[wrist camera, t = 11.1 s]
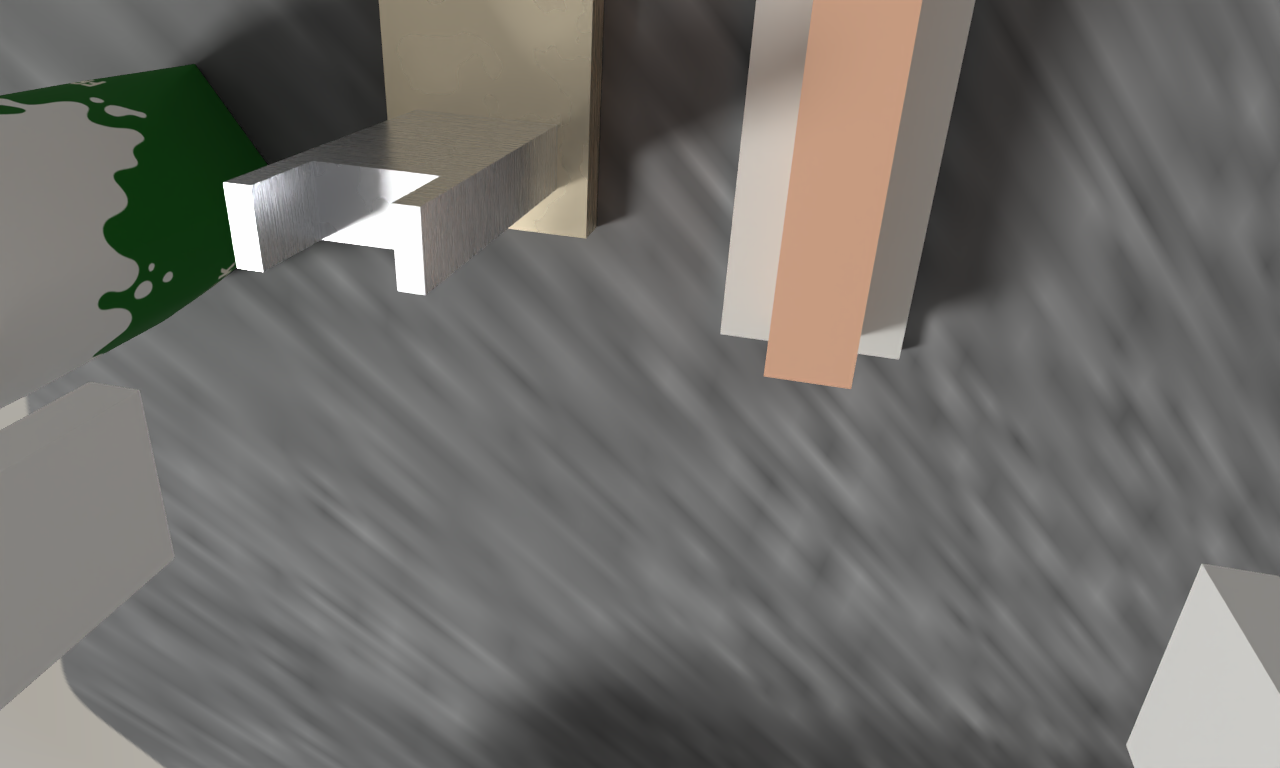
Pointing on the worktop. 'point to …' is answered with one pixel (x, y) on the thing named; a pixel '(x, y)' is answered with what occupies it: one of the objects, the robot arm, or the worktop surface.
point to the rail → (838, 184)
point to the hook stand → (447, 143)
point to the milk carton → (109, 214)
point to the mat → (770, 160)
